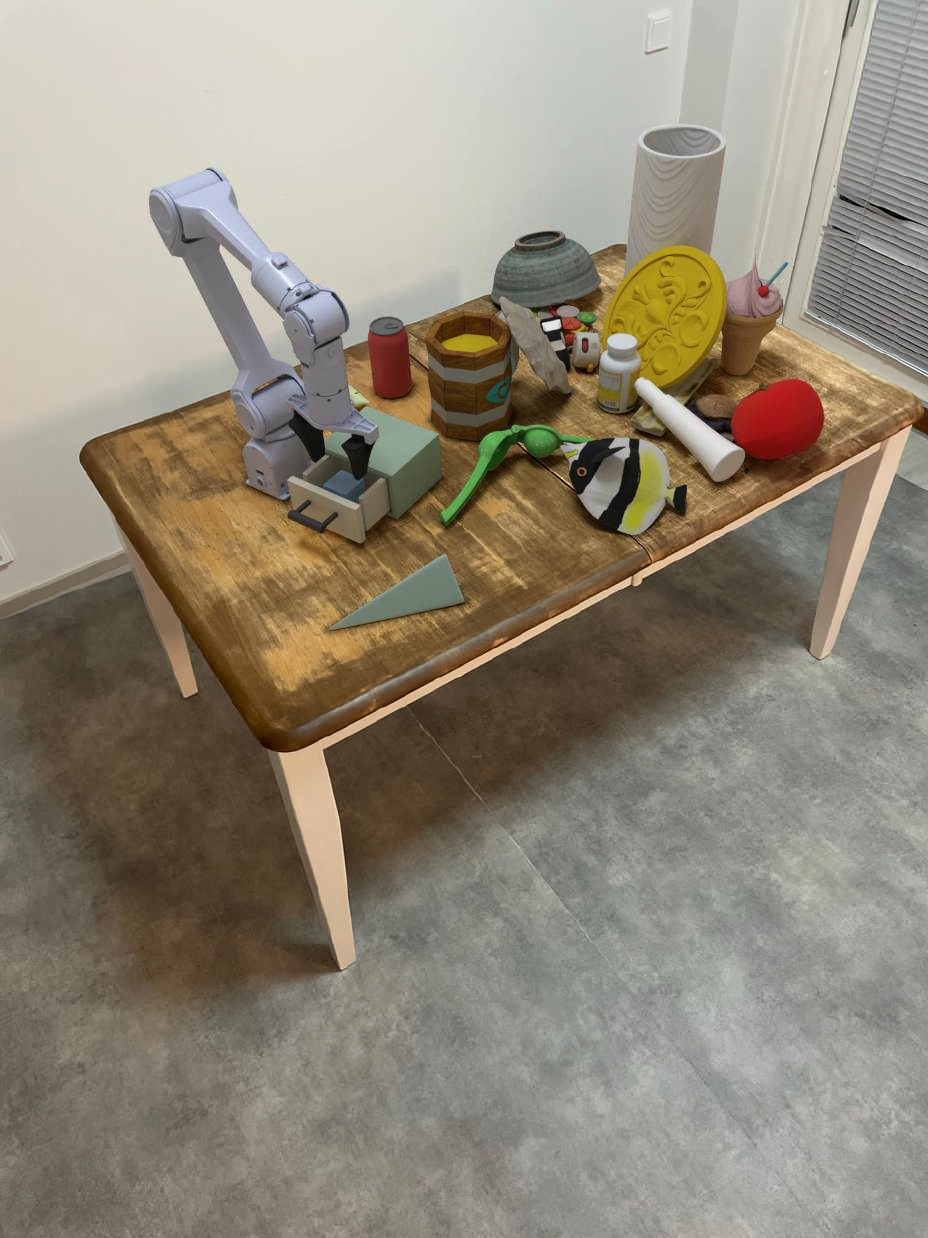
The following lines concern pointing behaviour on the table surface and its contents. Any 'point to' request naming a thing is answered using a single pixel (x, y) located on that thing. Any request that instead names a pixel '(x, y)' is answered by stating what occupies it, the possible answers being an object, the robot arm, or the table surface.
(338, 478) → the pale blue cube
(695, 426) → the cosmetic bottle
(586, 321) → the toy food set
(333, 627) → the thin wedge-shaped triangle plate
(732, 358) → the ice cream cone
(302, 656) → the table surface
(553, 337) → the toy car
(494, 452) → the lime squeezer
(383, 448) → the drawer cabinet
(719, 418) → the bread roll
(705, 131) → the vase
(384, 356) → the beer can
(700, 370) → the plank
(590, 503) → the fish
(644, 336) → the decorative medallion
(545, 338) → the stone tool
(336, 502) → the cream drawer
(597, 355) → the roller toy
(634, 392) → the pill bottle
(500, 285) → the bowl
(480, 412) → the mug
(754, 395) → the tomato
